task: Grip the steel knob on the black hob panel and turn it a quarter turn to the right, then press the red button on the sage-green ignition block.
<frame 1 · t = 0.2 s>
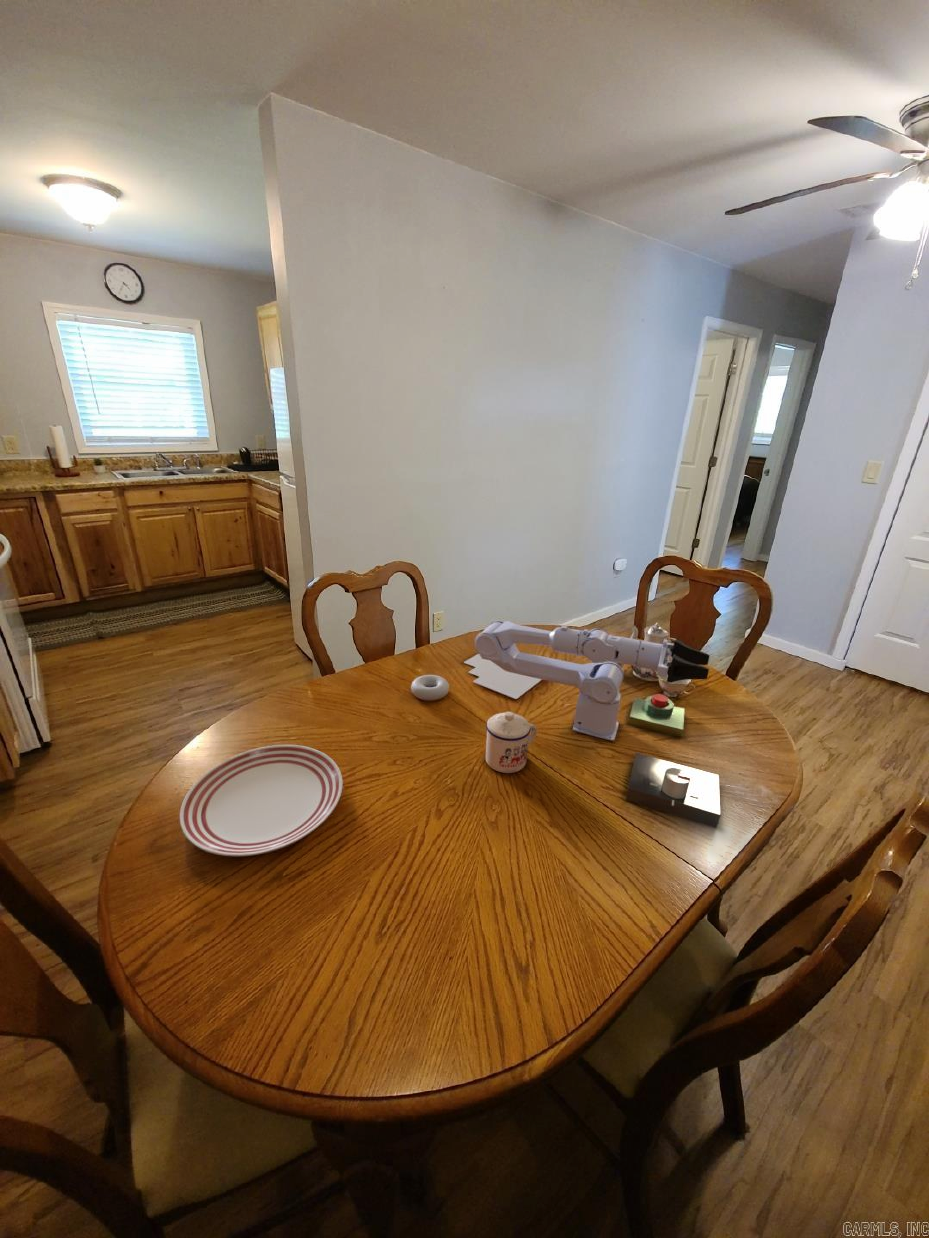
hand: (708, 666, 102), 21 cm above the table, tool horizontal, fingers open, 7 cm apart
hob knob: (675, 782, 94), point 5 cm above the table, hinge at 0.0°
dinner plate: (267, 805, 92), on the table
paper stack: (504, 670, 144), on the table
chinaware: (643, 678, 142), on the table
start button: (659, 700, 122), point 4 cm above the table, slide at 0.1 cm
ignition block: (656, 720, 122), on the table
donut: (430, 693, 131), on the table
teacup with lid: (511, 759, 107), on the table
hob panel: (671, 793, 98), on the table
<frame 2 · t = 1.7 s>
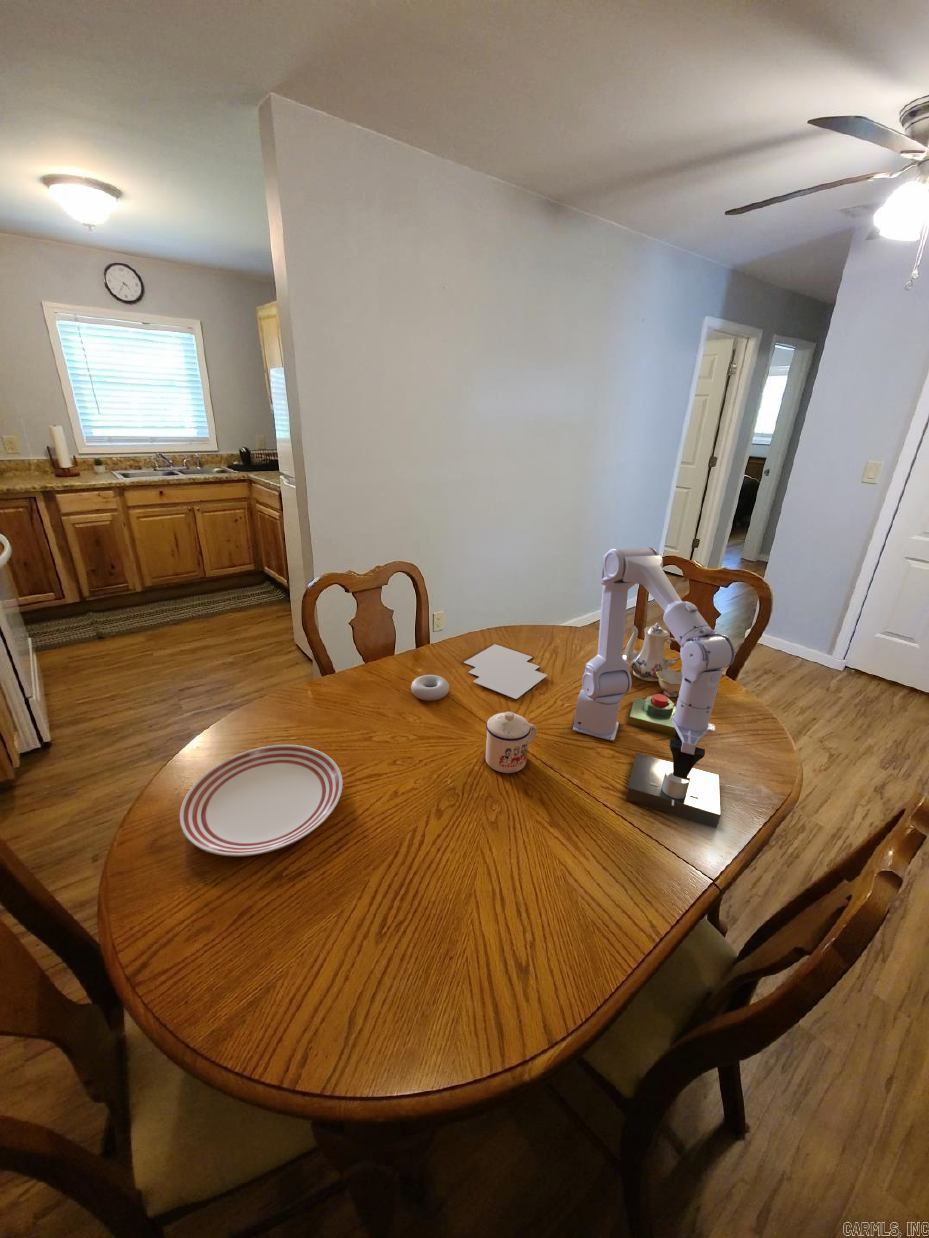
hand: (680, 763, 92), 9 cm above the table, tool pointing down, fingers open, 7 cm apart
nothing on the table moved.
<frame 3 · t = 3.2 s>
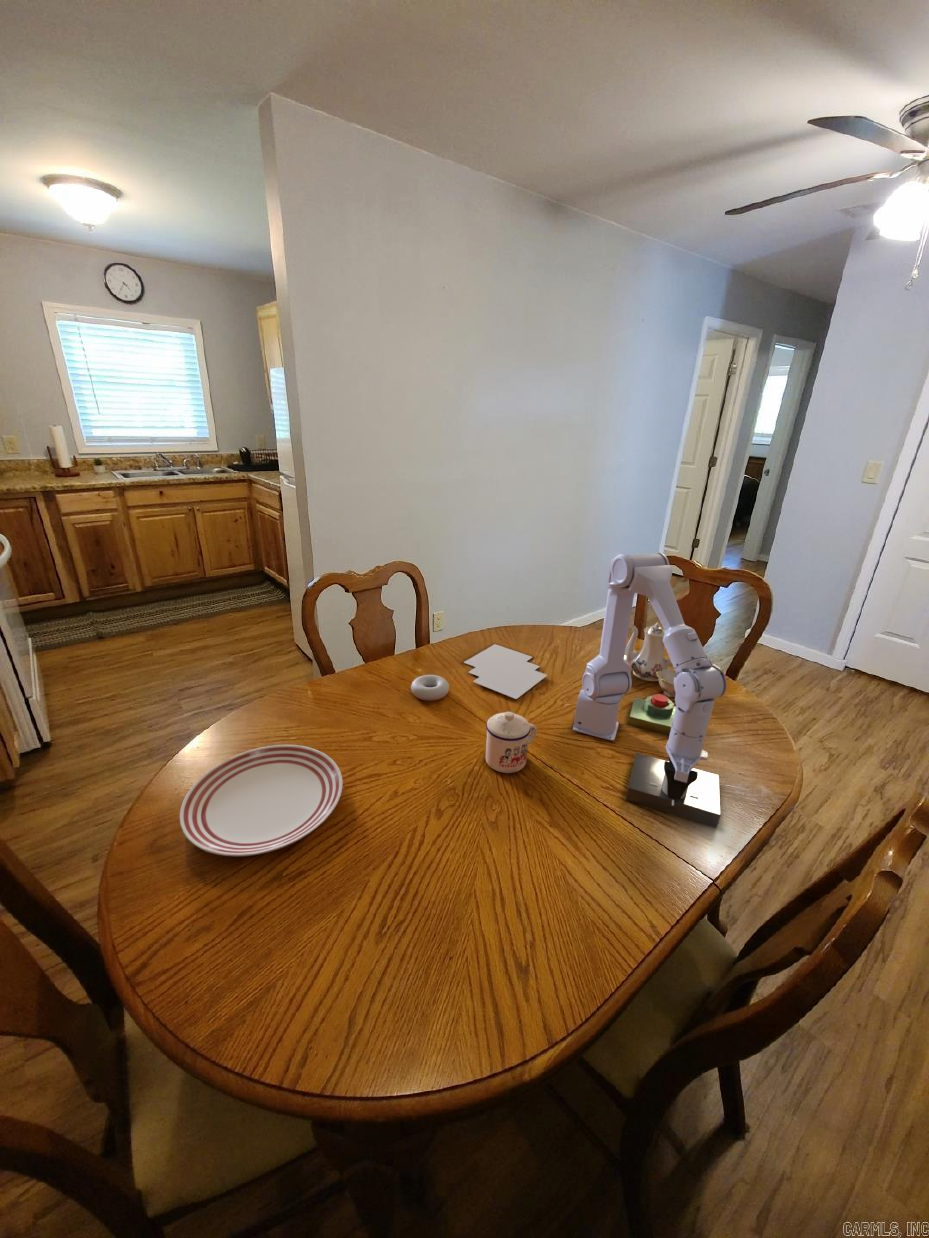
hand: (674, 788, 94), 4 cm above the table, tool pointing down, fingers closed on hob knob, 4 cm apart
hob knob: (675, 782, 94), point 5 cm above the table, hinge at 0.1°, touching gripper
everything else where it was.
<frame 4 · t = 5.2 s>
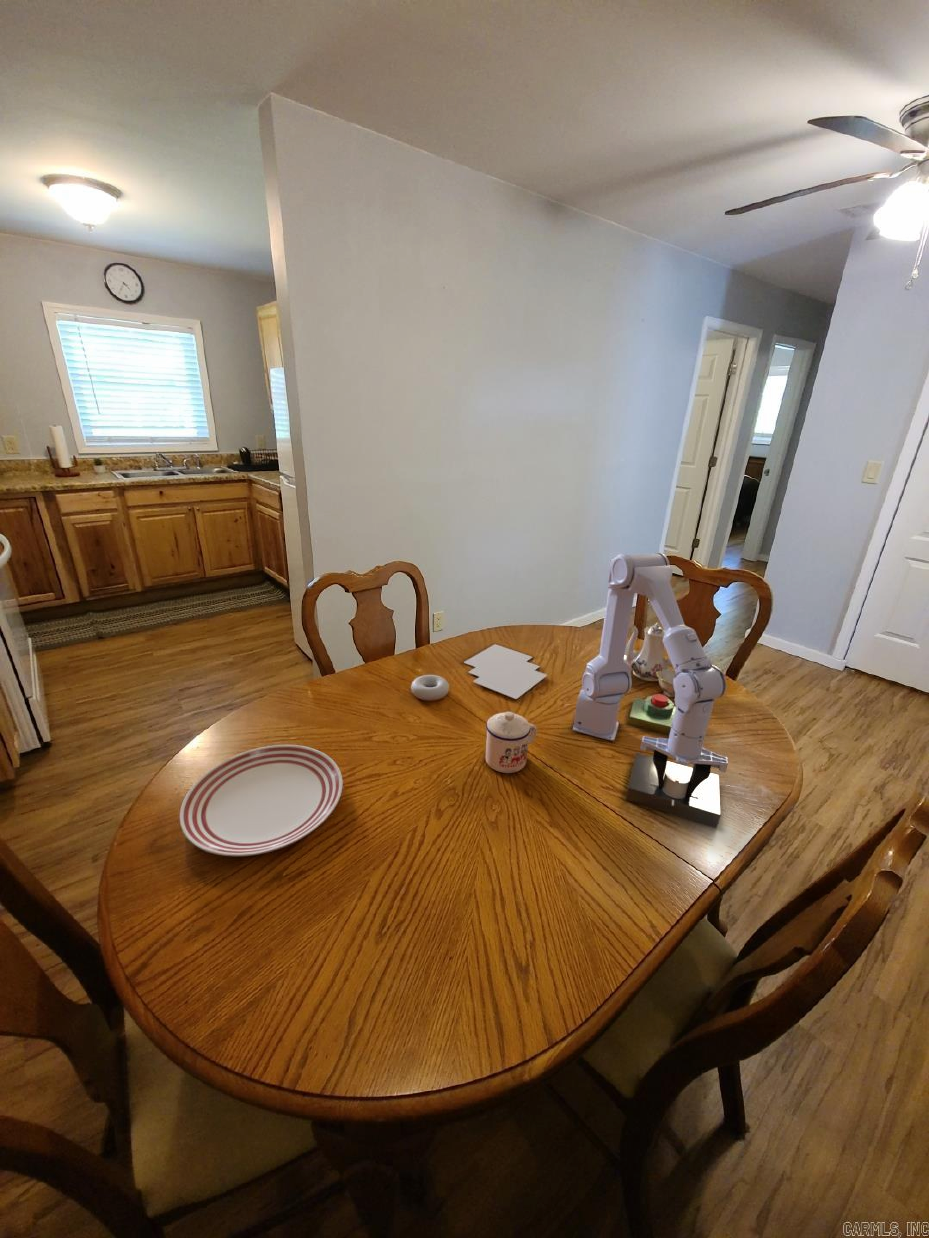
hand: (674, 789, 94), 3 cm above the table, tool pointing down, fingers closed on hob knob, 4 cm apart
hob knob: (675, 782, 94), point 5 cm above the table, hinge at -89.5°, touching gripper
everything else where it was.
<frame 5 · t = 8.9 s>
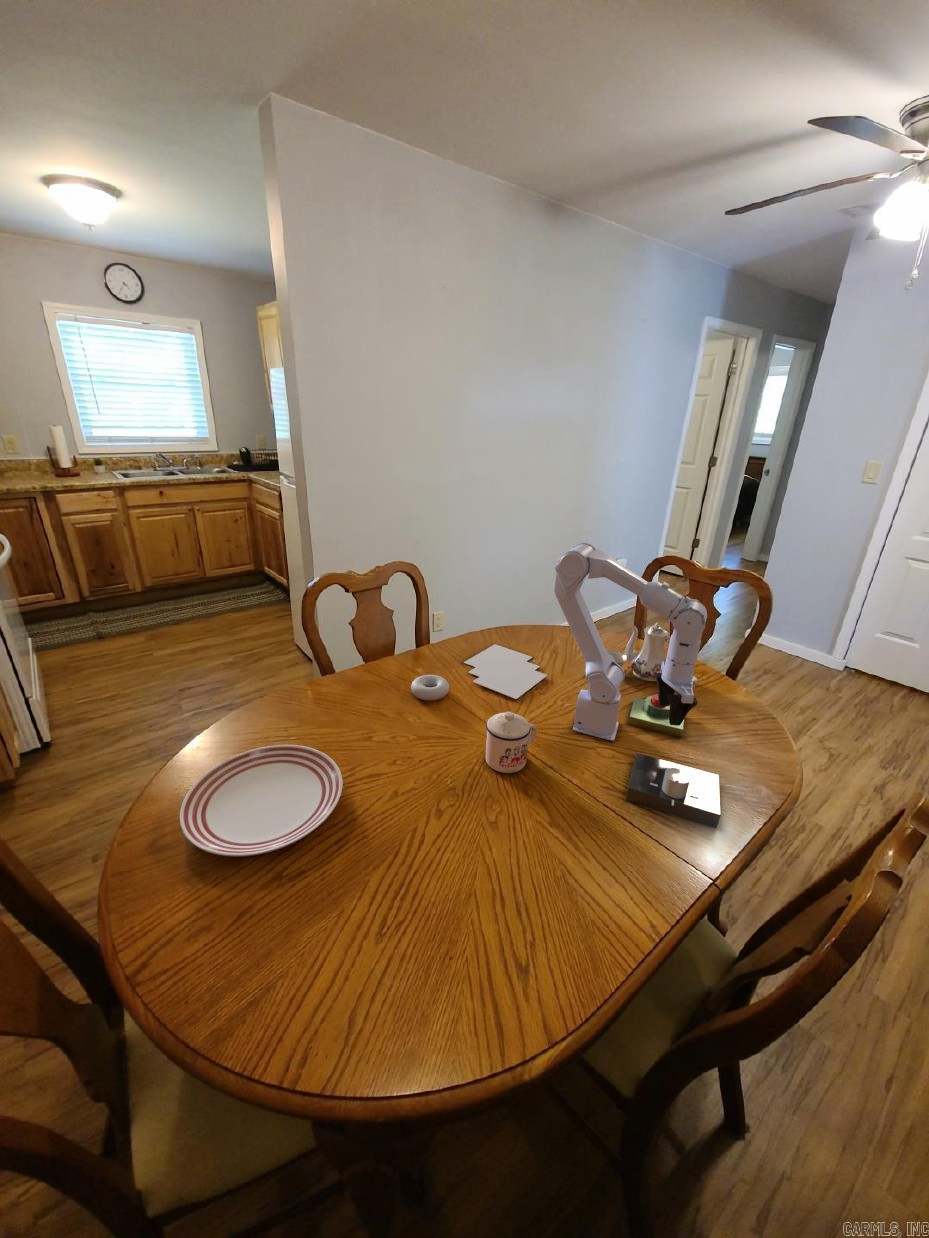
hand: (669, 714, 109), 9 cm above the table, tool pointing down, fingers open, 7 cm apart
hob knob: (675, 782, 94), point 5 cm above the table, hinge at -90.1°
everything else where it was.
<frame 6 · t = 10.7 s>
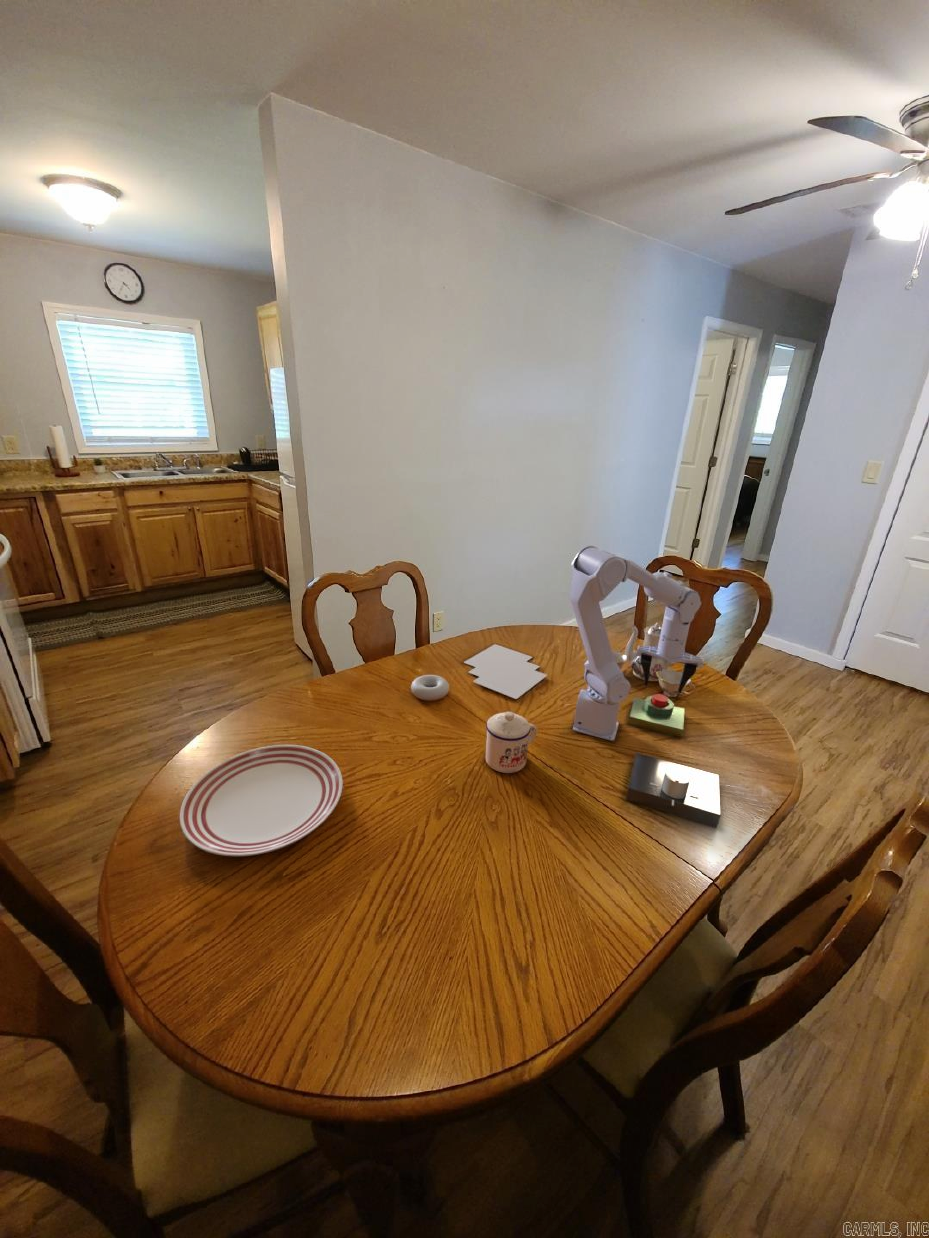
hand: (662, 687, 121), 8 cm above the table, tool pointing down, fingers open, 7 cm apart
nothing on the table moved.
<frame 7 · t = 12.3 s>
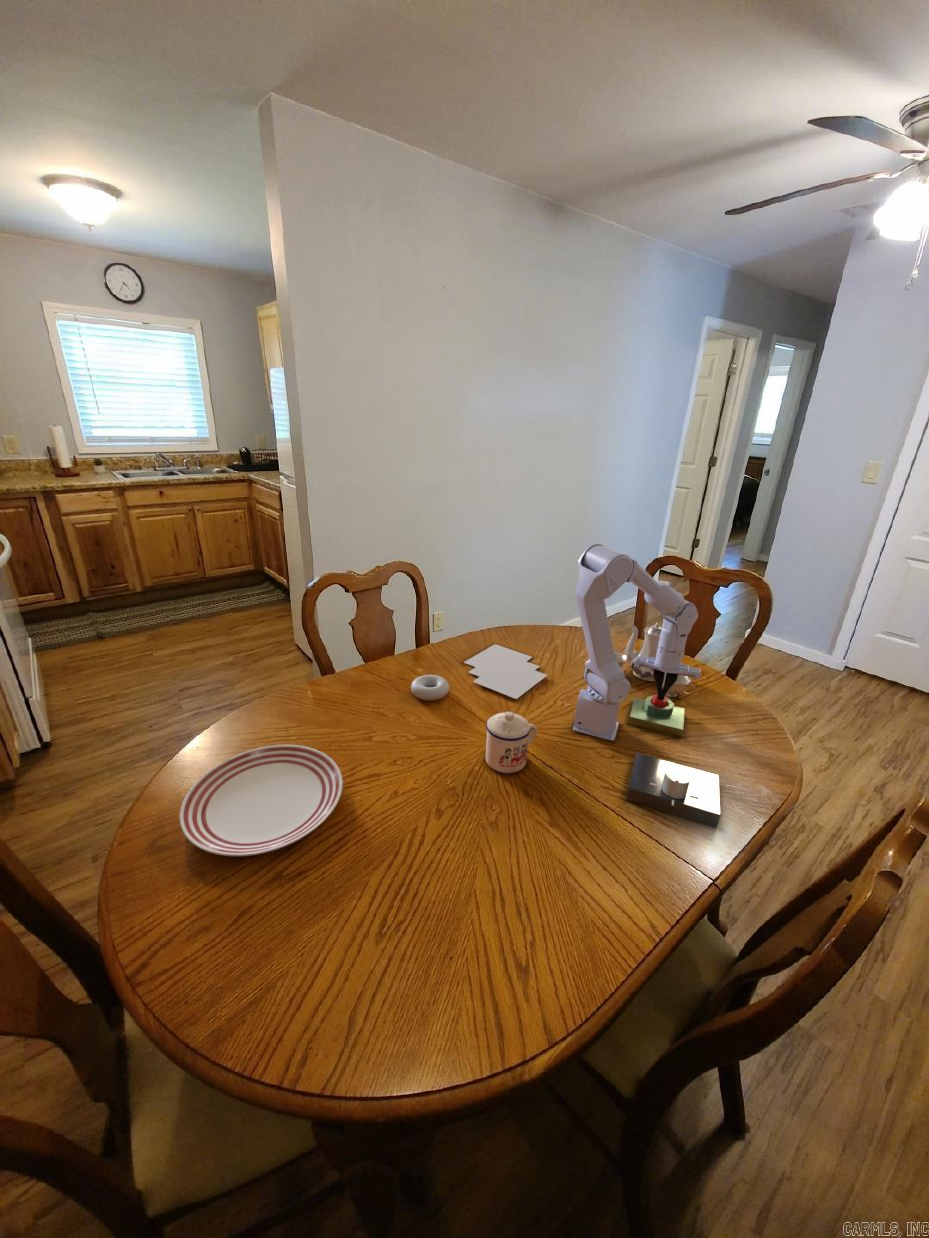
hand: (660, 697, 122), 5 cm above the table, tool pointing down, fingers closed, pressing on start button
start button: (659, 700, 122), point 4 cm above the table, slide at 0.0 cm, touching gripper
everything else where it was.
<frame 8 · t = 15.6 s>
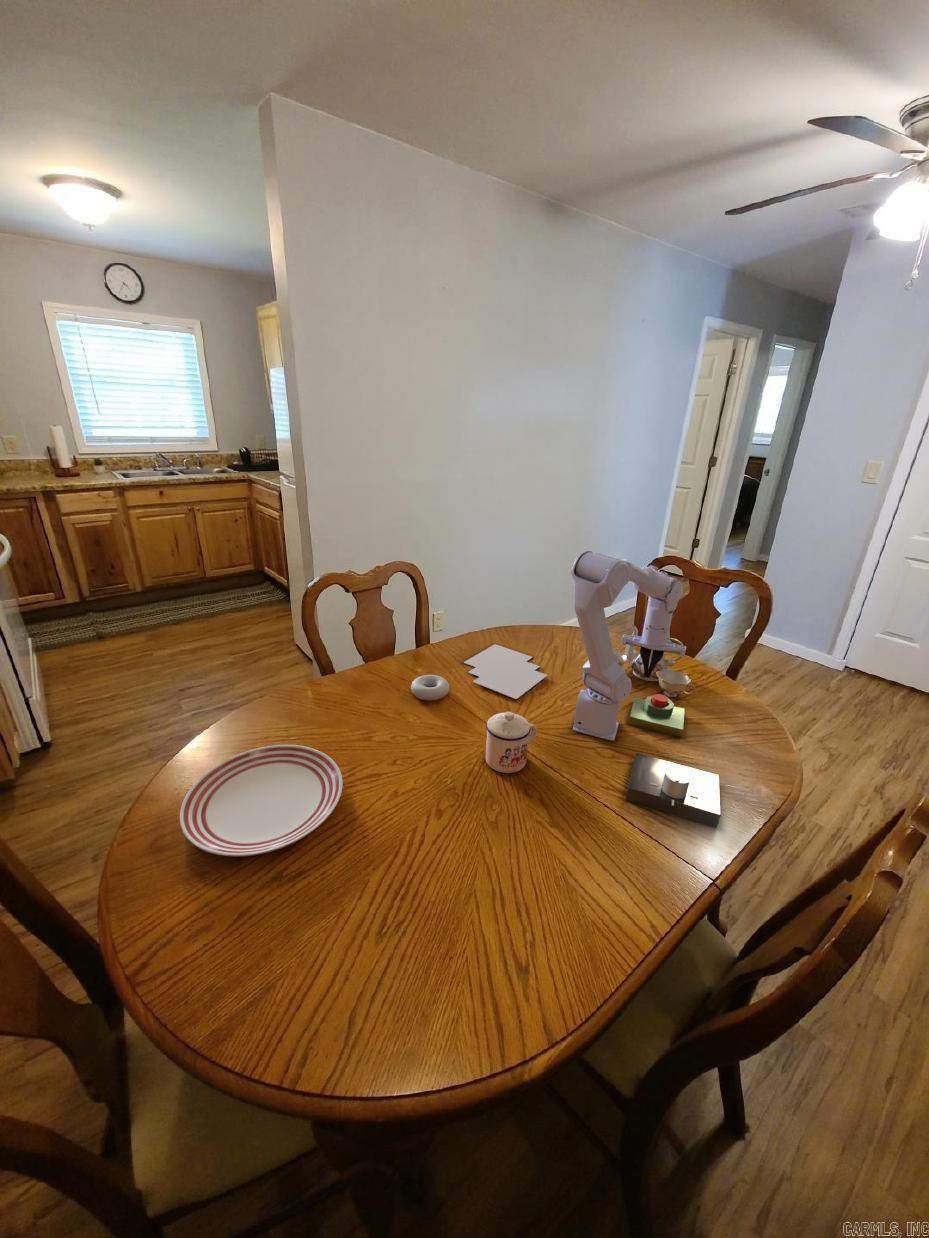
hand: (647, 675, 124), 9 cm above the table, tool pointing down, fingers closed
start button: (659, 700, 122), point 4 cm above the table, slide at 0.1 cm
everything else where it was.
at the end: hob knob at -90° (first picture: +0°); start button pushed in 1.2 cm at the most during the clip, back to where it started at the end; start button slide at 0.1 cm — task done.
